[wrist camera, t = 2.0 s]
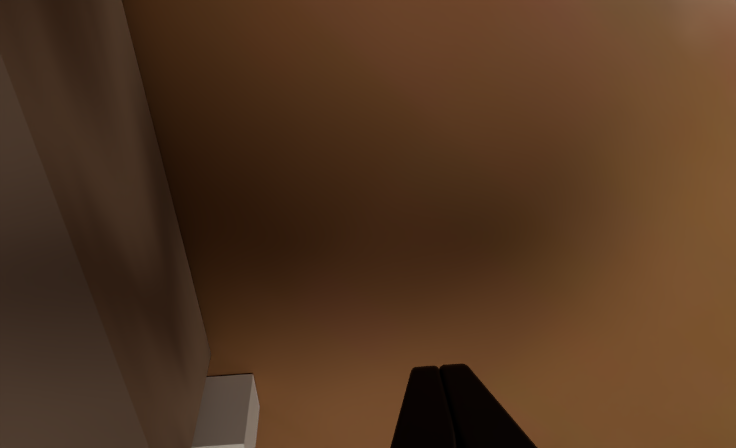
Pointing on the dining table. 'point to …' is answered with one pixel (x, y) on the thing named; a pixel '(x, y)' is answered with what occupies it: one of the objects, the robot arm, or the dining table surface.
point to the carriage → (88, 243)
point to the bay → (228, 413)
